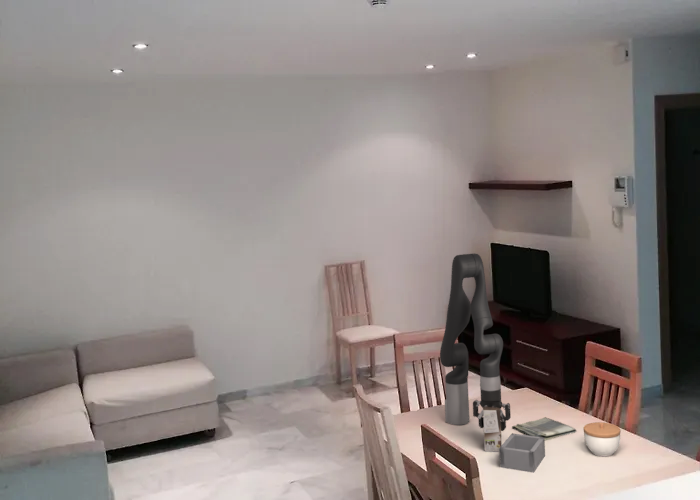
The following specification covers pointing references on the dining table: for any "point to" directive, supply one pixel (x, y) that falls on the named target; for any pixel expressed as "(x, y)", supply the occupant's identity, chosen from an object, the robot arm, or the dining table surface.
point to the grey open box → (522, 452)
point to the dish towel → (544, 428)
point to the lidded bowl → (602, 438)
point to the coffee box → (492, 428)
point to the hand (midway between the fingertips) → (492, 428)
